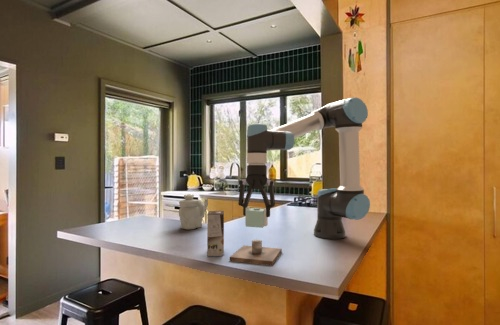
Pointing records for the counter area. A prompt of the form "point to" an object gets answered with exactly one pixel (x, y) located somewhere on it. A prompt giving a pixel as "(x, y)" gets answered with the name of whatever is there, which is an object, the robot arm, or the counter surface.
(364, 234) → the counter surface
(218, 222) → the coffee box
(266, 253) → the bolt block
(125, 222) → the counter surface
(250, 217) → the pale green cube
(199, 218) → the teapot
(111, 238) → the counter surface
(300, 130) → the robot arm
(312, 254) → the counter surface
